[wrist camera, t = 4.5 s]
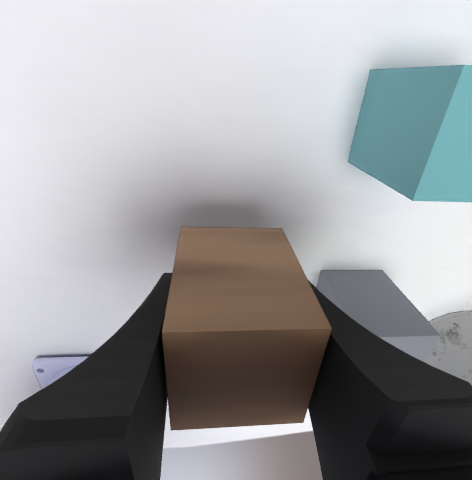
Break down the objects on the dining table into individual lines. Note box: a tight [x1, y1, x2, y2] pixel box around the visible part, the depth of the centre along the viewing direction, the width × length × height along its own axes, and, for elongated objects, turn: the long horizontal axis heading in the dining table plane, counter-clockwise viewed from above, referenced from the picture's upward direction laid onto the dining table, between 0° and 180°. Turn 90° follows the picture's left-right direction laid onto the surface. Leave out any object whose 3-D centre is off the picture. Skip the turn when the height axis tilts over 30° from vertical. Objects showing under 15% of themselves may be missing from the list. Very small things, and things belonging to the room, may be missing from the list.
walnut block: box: [162, 227, 332, 430], centre depth 11 cm, size 4×4×6 cm
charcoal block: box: [317, 270, 441, 363], centre depth 19 cm, size 4×4×6 cm
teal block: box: [348, 65, 472, 202], centre depth 13 cm, size 4×4×6 cm
